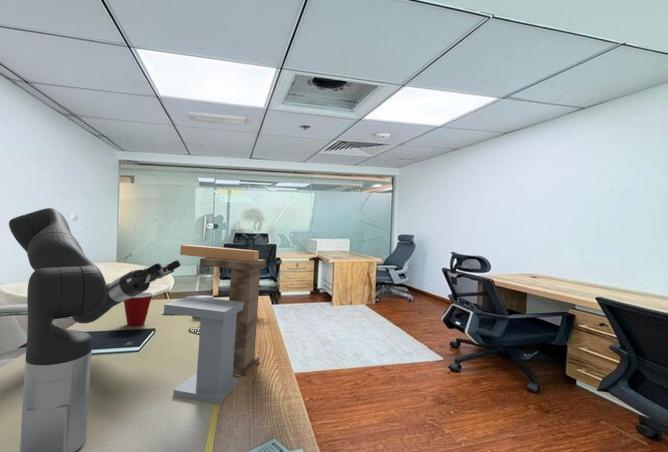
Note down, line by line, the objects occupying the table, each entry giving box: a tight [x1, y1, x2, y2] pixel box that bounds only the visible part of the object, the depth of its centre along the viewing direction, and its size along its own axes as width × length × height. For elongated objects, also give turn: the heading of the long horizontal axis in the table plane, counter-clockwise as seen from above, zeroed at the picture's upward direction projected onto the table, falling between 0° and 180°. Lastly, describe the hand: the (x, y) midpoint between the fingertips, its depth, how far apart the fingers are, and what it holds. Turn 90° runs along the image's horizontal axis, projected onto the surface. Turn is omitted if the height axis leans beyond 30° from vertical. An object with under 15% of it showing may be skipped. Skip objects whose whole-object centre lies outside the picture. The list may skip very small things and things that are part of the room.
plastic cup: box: [123, 292, 154, 327], centre depth 125 cm, size 11×11×12 cm
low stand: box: [163, 295, 244, 405], centre depth 81 cm, size 16×10×22 cm, turn 80°
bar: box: [179, 244, 260, 262], centre depth 96 cm, size 24×3×3 cm, turn 80°
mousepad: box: [188, 327, 200, 335], centre depth 122 cm, size 9×8×1 cm
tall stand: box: [199, 257, 267, 377], centre depth 95 cm, size 16×10×32 cm, turn 80°
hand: (170, 264), depth 98 cm, fingers open, 8 cm apart
